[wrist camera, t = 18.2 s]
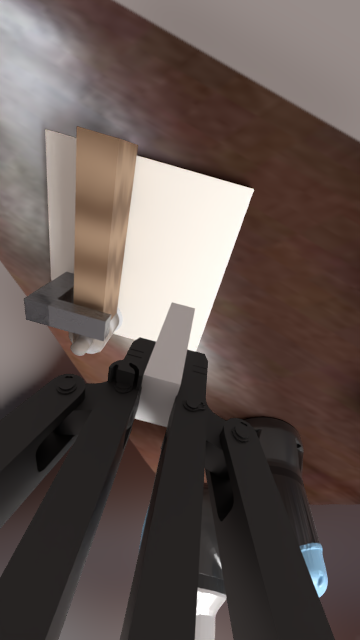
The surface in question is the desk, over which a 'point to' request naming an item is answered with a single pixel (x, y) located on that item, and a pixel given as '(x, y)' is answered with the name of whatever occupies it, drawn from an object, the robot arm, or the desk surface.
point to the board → (154, 237)
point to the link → (100, 226)
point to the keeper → (65, 310)
